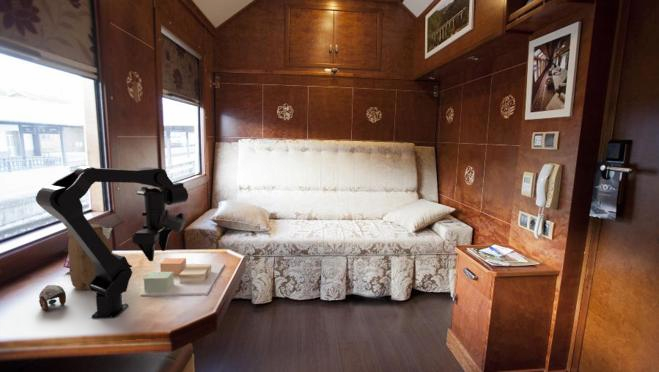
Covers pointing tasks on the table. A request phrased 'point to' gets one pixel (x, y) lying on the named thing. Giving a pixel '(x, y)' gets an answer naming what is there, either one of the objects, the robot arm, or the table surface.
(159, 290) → the sage block
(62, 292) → the helmet
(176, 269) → the terracotta block
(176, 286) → the baseplate
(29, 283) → the table surface
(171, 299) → the table surface
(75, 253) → the block
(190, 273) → the foundation slab
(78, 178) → the robot arm
